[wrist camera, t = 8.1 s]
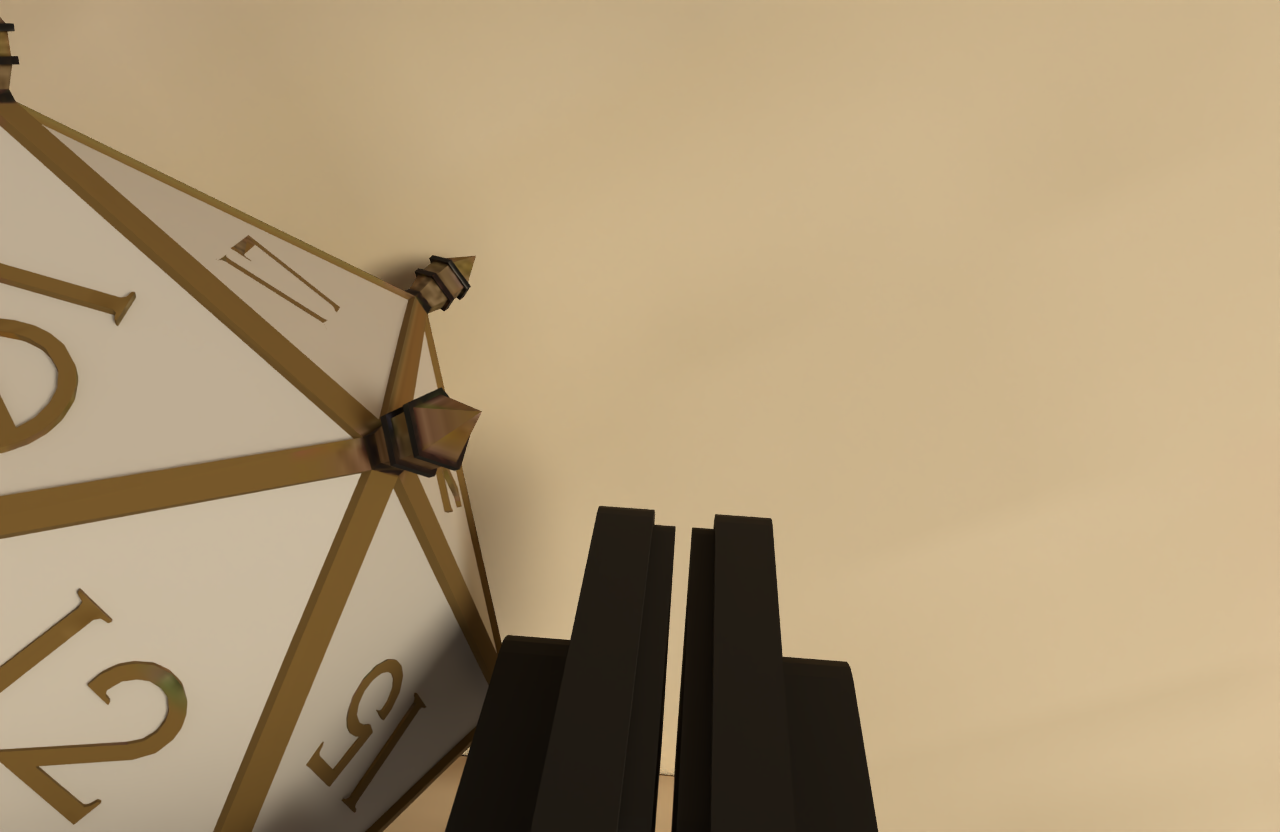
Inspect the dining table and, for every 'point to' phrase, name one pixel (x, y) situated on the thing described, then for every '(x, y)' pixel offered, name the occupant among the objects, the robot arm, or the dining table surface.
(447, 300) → the game die
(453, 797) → the u-shaped tan bracket
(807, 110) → the dining table surface
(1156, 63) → the dining table surface
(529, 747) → the robot arm
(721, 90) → the dining table surface
